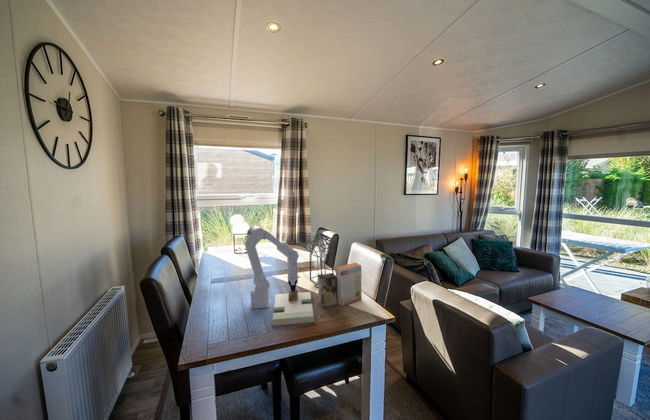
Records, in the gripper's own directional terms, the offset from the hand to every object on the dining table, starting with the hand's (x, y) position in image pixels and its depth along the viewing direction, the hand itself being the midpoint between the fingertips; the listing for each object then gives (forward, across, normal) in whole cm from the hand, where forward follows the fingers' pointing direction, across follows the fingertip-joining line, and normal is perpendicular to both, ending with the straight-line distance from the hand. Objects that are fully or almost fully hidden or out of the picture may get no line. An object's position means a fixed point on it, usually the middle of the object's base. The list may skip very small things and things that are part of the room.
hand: (293, 291), depth 145 cm
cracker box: (+3, -12, -31) cm, 33 cm away
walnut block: (+1, -8, 0) cm, 8 cm away
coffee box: (+3, -12, -19) cm, 22 cm away
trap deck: (+3, -14, 0) cm, 15 cm away
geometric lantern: (+3, +12, -18) cm, 22 cm away
